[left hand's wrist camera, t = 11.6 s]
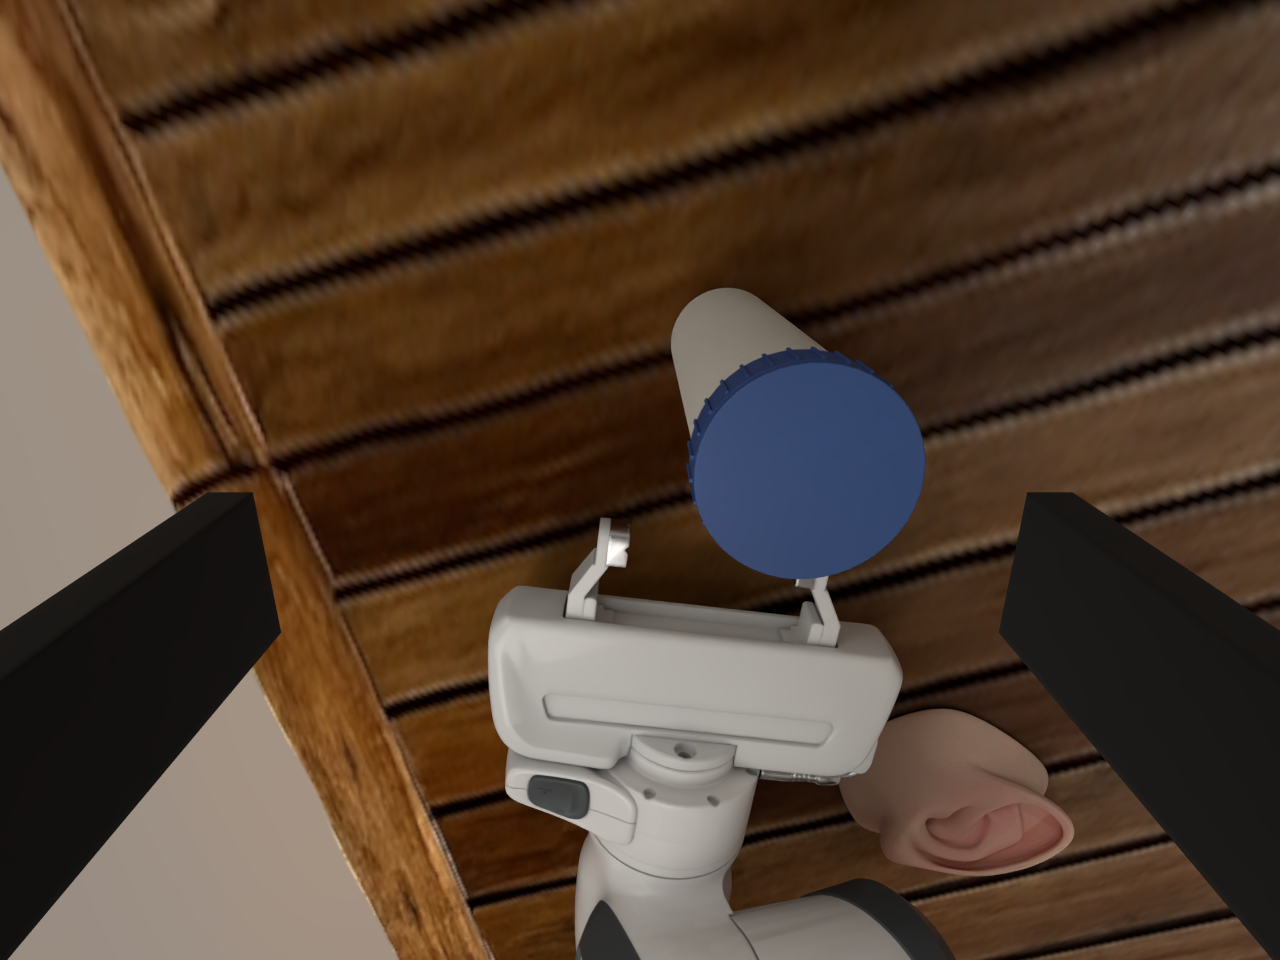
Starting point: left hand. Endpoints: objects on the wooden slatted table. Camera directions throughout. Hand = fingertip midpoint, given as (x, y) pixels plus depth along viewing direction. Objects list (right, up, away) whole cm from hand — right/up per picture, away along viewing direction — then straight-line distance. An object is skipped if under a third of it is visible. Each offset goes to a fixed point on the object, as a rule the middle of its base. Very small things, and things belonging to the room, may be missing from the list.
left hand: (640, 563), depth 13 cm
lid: (+4, +2, +7) cm, 8 cm away
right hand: (+4, -1, +22) cm, 22 cm away
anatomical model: (+19, -18, +35) cm, 44 cm away
